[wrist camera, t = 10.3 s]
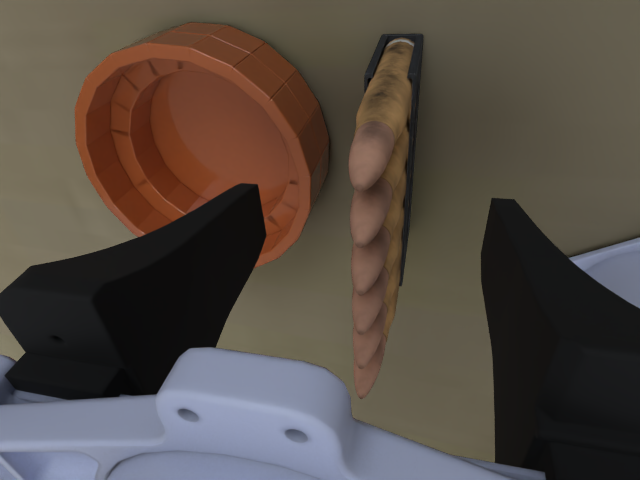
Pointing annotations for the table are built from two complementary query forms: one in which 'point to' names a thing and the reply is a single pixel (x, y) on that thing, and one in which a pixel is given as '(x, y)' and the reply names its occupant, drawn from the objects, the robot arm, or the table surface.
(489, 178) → the table surface
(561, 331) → the robot arm
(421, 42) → the ammunition clip
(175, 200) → the bowl
